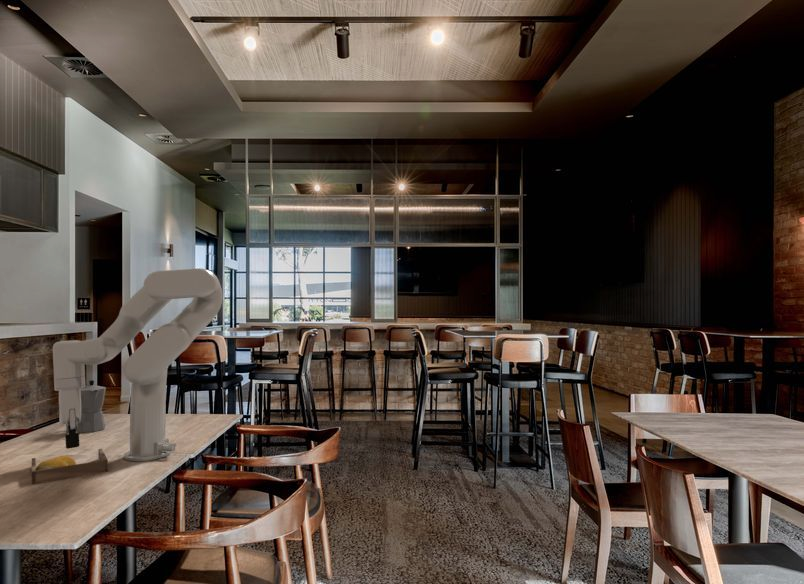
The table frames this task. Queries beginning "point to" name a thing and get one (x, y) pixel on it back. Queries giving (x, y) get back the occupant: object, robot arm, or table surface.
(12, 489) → the table surface
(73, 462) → the bread roll
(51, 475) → the walnut open-ended frame
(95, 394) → the coffeepot
